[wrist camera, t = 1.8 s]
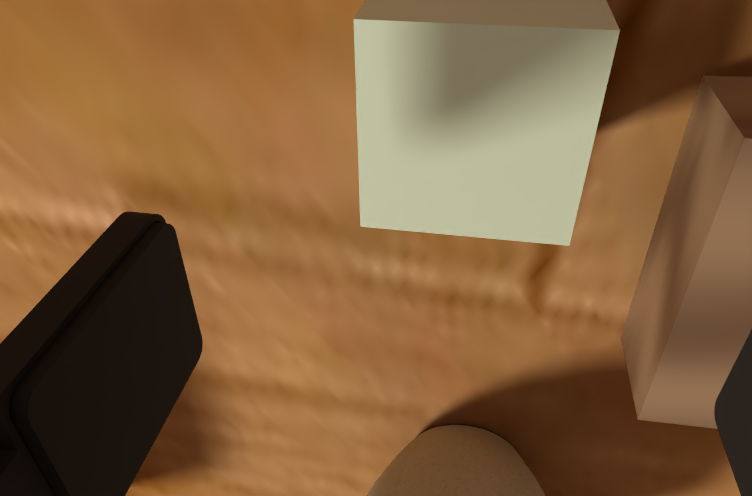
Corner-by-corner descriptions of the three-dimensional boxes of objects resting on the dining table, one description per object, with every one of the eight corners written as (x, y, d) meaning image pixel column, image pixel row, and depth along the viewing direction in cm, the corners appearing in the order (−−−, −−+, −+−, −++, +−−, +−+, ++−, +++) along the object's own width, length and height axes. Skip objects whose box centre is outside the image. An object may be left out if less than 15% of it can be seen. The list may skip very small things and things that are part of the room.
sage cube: (391, -41, 16) (353, 19, 12) (590, -35, 15) (620, 30, 11) (391, 133, 19) (360, 226, 15) (555, 145, 18) (569, 245, 14)
